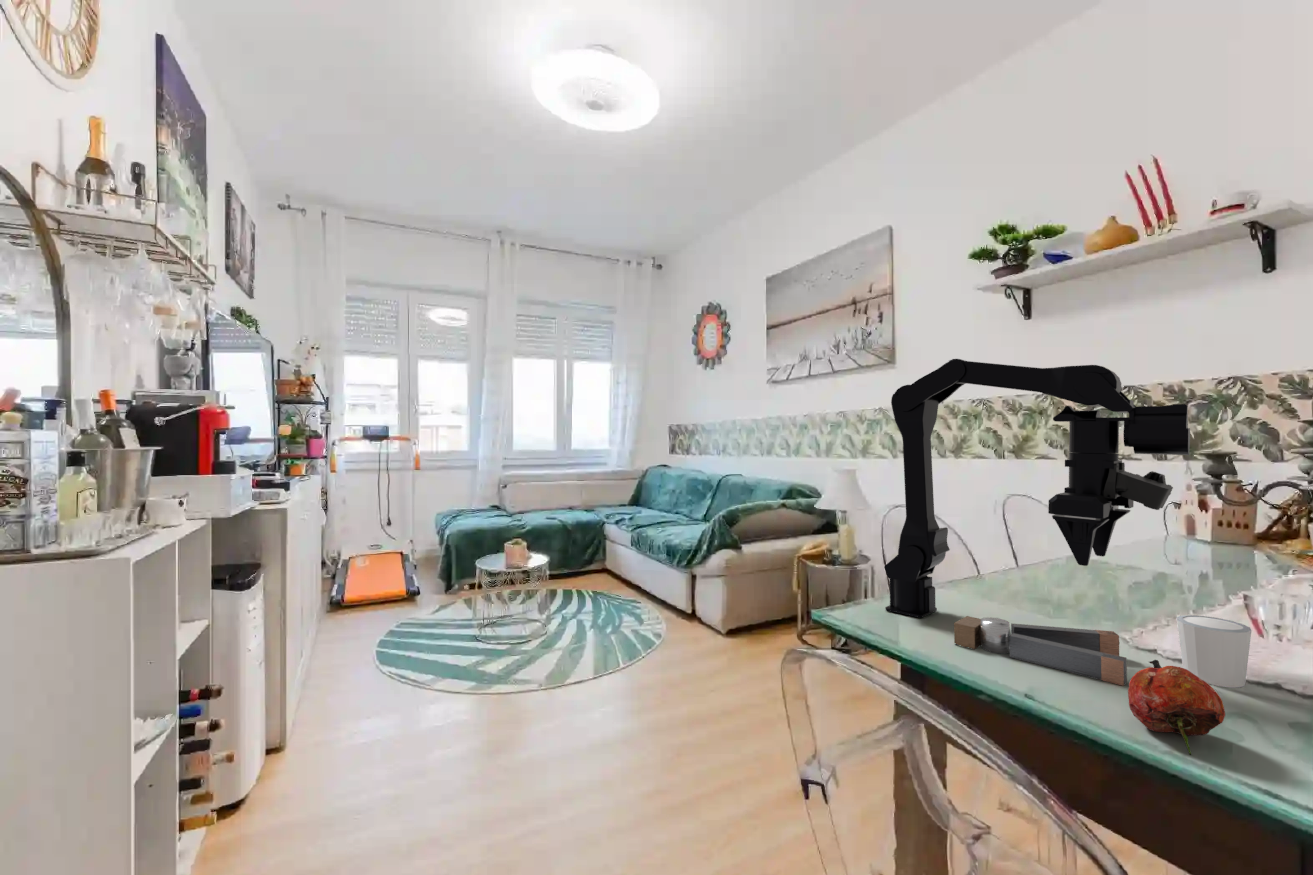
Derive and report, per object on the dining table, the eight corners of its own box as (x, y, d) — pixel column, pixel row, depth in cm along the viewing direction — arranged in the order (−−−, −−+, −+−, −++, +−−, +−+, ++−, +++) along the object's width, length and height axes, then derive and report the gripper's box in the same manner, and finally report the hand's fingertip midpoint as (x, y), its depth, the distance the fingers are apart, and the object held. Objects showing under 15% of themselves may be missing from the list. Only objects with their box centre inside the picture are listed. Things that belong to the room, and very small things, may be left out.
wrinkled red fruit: (1239, 780, 55) (1209, 685, 62) (1242, 738, 52) (1210, 643, 59) (1139, 765, 59) (1121, 677, 66) (1136, 725, 56) (1117, 637, 63)
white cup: (1187, 683, 71) (1186, 626, 71) (1169, 663, 77) (1168, 611, 77) (1263, 693, 68) (1262, 634, 68) (1238, 672, 74) (1237, 618, 74)
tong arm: (1014, 647, 83) (1014, 626, 83) (1011, 643, 84) (1010, 623, 84) (1119, 657, 79) (1119, 635, 79) (1113, 652, 80) (1113, 631, 80)
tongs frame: (954, 644, 85) (954, 617, 85) (967, 636, 88) (966, 610, 88) (1123, 686, 70) (1122, 653, 70) (1131, 675, 73) (1130, 644, 73)
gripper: (1152, 457, 71) (1151, 582, 71) (1179, 453, 83) (1177, 560, 83) (1047, 454, 80) (1046, 566, 80) (1085, 450, 92) (1084, 548, 92)
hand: (1092, 560), depth 83 cm, fingers open, 9 cm apart
